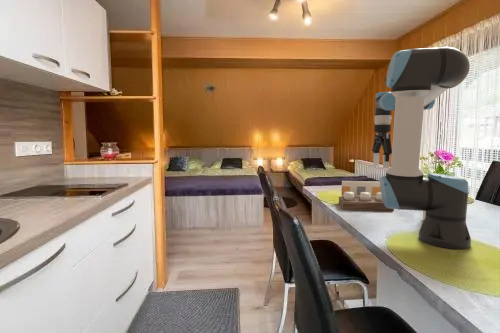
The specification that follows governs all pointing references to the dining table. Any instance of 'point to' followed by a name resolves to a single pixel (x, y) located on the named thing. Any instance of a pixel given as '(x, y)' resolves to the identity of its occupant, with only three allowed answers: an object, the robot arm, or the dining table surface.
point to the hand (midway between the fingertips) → (380, 166)
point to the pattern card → (361, 187)
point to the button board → (363, 204)
